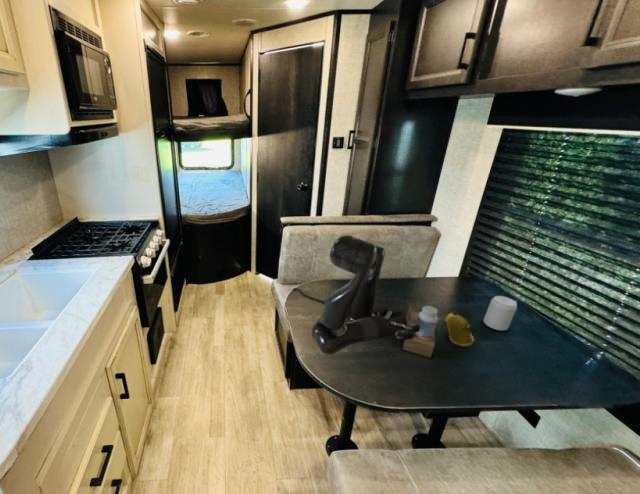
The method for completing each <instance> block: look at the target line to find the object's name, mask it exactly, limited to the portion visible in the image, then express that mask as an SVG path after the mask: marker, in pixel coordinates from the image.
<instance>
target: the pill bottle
mask: <svg viewBox="0 0 640 494" xmlns="http://www.w3.org/2000/svg"><path fill="white" fill-rule="evenodd" d="M420 311H421V312H420V313H419V315H418V318H417V322H416V325H419V326H420V330H419V332H416V333H414V334H415V335H416V336H417V337H419V338H421V339H424V340H430V339H432V337H433V334H434V335H435V332H436V328H437V325H438V321H439V317H438V313H439V310H438V309H437V308H435V307H434V306H431V305H424V306H423V307H422V310H420Z"/></svg>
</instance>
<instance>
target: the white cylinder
mask: <svg viewBox="0 0 640 494" xmlns="http://www.w3.org/2000/svg"><path fill="white" fill-rule="evenodd" d="M517 309H518V306H517V302H516V301H515V300H514V299H512V298H510V297H507V296H503V295H495V296H494V297H493V298H491V299H490V303H489V305H488V308H487V310H486V313H485V315H484V318H483V323H484V324H485V325H486V326H487V327H489V328H491V329H493V330H497V331H502V332H503V331H508V329H509V327H510V325H511V323H512V320H513V319H514V316H515V314H516V312H517Z"/></svg>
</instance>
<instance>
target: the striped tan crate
mask: <svg viewBox="0 0 640 494" xmlns="http://www.w3.org/2000/svg"><path fill="white" fill-rule="evenodd" d="M412 306H413V305H412V304H409V305H408V309H407V313H406V317H405V321H404V322H405V323H406V326H408V327H410V326H414V325H416V322H417V318H418V315H419V313H420V312H421V311H422V310H417V309H413V307H412ZM405 331H407V329H405ZM408 336H409V335H408ZM403 341H404V342H403V345H402V350H403V351H407V352H410V353H413V354H417V355H421V356H424V357H427V358H431V357H432V354H433V351H434V349H435V346H436V343H435V342H436V341H435V333H434V334H433V337H432V339H430V340H424V339H421V338H419V337H417V336H416V335H415V334H414V336H413V339H408V340H403Z"/></svg>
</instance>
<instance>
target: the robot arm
mask: <svg viewBox="0 0 640 494" xmlns="http://www.w3.org/2000/svg"><path fill="white" fill-rule="evenodd" d="M385 256H386V249H385V248H384V247H382V246H377V245H375V244H374V243H371V242H369V241H365V240H363V239H360V238H357V237H354V236H352V235H348V234H344V235H341V236H339V237H338V238H337V239H336V240H335V241H334V242H333V244H332V246H331V248H330V252H329V259H330V262H331V263H332V264H333V266H335V267H337V268H339V269H341V270H344V271H346V272H348V273H351V274H353V277H352V278H351V280H350V281H349V282H347V283H346V284H344V285H343V286H341V287H340V288H338V289H337V290H335V291H334V292H332V293H331V294H330V295H328V297H327V298H326V301H325V300H321V299H320V298H319V299H318V298H316V297H312V296H310V295H307V294H305V293H304V292H303V291H302V290H300V289H299V288H297V287H294V288H292V290H293V291H298V292H299V293H300V294H301V295H302V296H304V297H306V298H308V299H310V300H314V301H317V302H320V303H322V304H324V306H323V309H322V312H321V315H320V316H319V317H318V319H317V320H316V322H315V323H314V324H313V325H312V327H311V336H312V339H313V340H314V342H315V343H316V345H317V347H318V348H319V350H320V351H321V352H322V353H323V354H325V355H335V354H336V353H338V352H340V351H342V350H343V349H345V348H347V347H348V346H351V345H353V344H356V343H357V344H358V343H362V342H370V341H376V340H379V339H384V338H387V337H389V336H390V335H391V336H395V340H396V341H398V342H402V341H405V340H408V339H413V336H414V333H416V332H419V330H420V326H419V325H414V326H410V327H408V326H407V325H405V324H404V323H400V322H397V321H396V320H395V318H398V317H399V318H400V317H401V316H402V313H403V311H402V310H388V308H386V307H383V308H380V309H376V310H374V308H375V307H374V306H375V302H376V297H377V293H378V287H379V282H380V276H381V272H382V269H383V264H384V261H385V258H386V257H385ZM346 319H349V320H350V321H346ZM399 328H400V329H399ZM406 329H407V331H406ZM336 331H338V334H337V332H336ZM408 335H409V336H408Z"/></svg>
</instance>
